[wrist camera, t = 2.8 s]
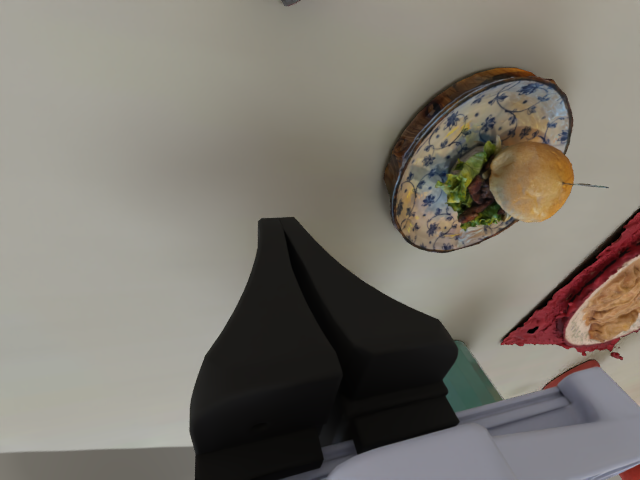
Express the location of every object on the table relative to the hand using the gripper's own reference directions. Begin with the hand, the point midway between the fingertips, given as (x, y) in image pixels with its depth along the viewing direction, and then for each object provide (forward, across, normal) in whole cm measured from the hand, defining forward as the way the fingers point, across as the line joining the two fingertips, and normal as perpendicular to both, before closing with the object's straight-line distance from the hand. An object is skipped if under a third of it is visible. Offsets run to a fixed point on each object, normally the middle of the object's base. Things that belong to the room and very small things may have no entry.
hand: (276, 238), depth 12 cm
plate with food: (+6, -44, +14) cm, 47 cm away
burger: (+6, -14, 0) cm, 15 cm away
